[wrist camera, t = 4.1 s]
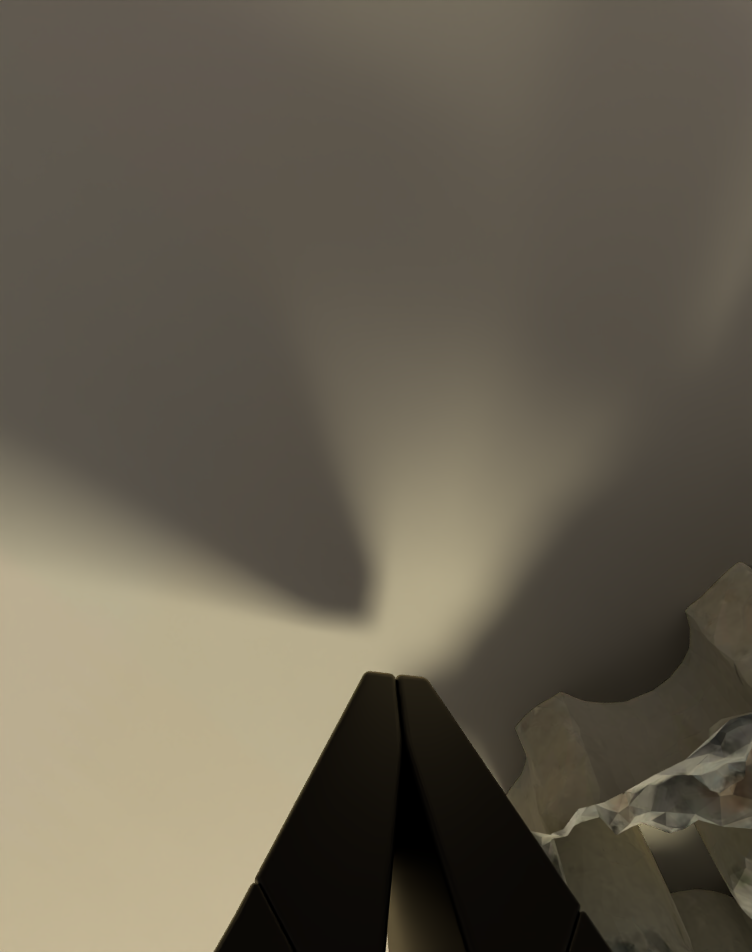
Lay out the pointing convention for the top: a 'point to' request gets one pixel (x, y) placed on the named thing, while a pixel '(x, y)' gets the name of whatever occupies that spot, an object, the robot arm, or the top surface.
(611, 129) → the top surface
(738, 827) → the egg carton
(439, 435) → the top surface
